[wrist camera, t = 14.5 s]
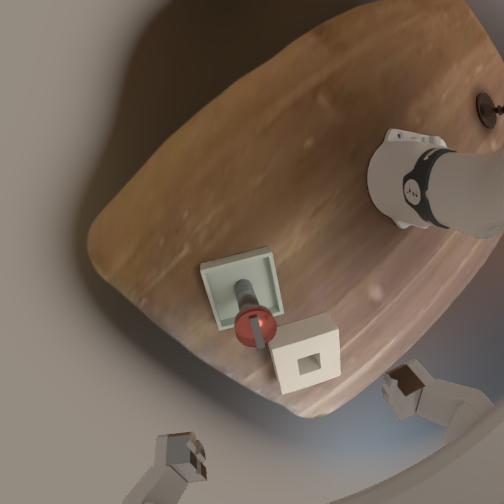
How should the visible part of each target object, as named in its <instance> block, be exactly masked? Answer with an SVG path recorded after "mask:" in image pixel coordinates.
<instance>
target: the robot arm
mask: <svg viewBox="0 0 504 504" xmlns="http://www.w3.org/2000/svg"><path fill="white" fill-rule="evenodd" d="M398 135H399V138H398ZM367 182H368V189H369V193H370V196H371V199H372V201H373V203H374V204H375V206H376V207H377V208H378V209H379V210H380V211H381V212H382V213H383V214H385V215H387V216H389V217H390V218H392V219H393V221H394V222H395V224H396V225H397V226H398V227H399V228H402V229H405V228H407V227H409V226H411V225H413V226H416V227H420V228H424V229H426V228H428V227H429V226H431V225H433V226H436V227H440V228H446V229H448V228H452V229H455V230H457V231H460V232H462V233H465V234H467V235H470V236H472V237H475V238H477V239H489V238H491V237H493V236H494V235H495V234H497V233H498V232H499V231H500V230H501V229H502V228H503V226H504V144H503V145H502V147H501V148H500V149H498V150H497V151H495V152H492V153H487V154H474V153H458V152H456V151H455V150H454V149H451V148H447V146H446V144H445V142H444V140H442V139H441V138H440V137H437V136H427V135H423V134H418V133H414V132H409V131H404V130H399V129H389V130H388V131H387V133H386V136H385V139H384V142H383V143H382V145H381V146H380V147H379V148H378V149H377V150H376V151H375V153H374V155H373V156H372V158H371V161H370V164H369V168H368V175H367ZM383 380H384V381H385V383H384V384H383V386H382V393H383V397H384V399H385V401H386V402H387V404H389V405H391V406H393V410H392V411H393V413H394V414H395V415H396V417H397V418H398V420H399V421H401V420H402V419H405V418H406V417H409V416H410V415H412V414H414V413H416V414H418V415H420V416H422V417H424V418H426V419H428V420H431V421H433V422H435V423H437V424H440V425H442V426H444V427H447V430H446V431H445V434H444V436H443V438H442V440H443V441H444V443H445V444H446V446H444V447H442V448H441V449H440V450H438V451H436V452H435V453H433V454H432V455H430V456H429V457H427V458H425V459H423V460H422V461H420V462H418V463H417V464H415V465H413V466H412V467H410V468H408V469H406V470H404V471H402V472H400V473H398V474H396V475H394V476H392V477H390V478H388V479H386V480H384V481H382V482H380V483H378V484H376V485H373V486H371V487H369V488H367V489H364V490H362V491H359V492H357V493H355V494H352V495H349V496H347V497H344V498H341V499H339V500H336V501H333V502H330V503H327V504H504V399H503V400H502V401H501V402H500V403H499V404H498V405H497V406H495V405H494V404H493V403H492V402H491V401H490V400H489V399H488V398H487V397H486V396H485V395H484V394H483V393H482V392H481V391H480V390H478V389H473V388H470V387H466V386H462V385H458V384H454V383H451V382H447V381H443V380H439V379H437V380H434V379H433V377H432V376H431V375H430V374H429V373H428V372H427V371H426V370H425V369H424V368H423V367H422V366H421V365H420V363H419V362H418V361H417V360H415V359H413V360H411V361H409V362H407V363H405V364H403V365H400V366H398V367H397V368H394V369H392V370H390V371H388V372H386V373H385V374H384V377H383ZM205 460H206V457H205V451H204V448H203V446H202V443H201V442H200V441H199V440H196V435H195V434H194V433H193V432H185V433H176V434H166V435H158V437H157V439H156V447H155V459H154V466H151V467H150V468H149V469H148V471H147V472H146V473H145V475H144V476H143V477H142V478H141V479H140V481H139V482H138V483H137V484H136V485H135V486H134V488H133V489H132V490H131V491H130V492H129V494H128V495H127V496H126V497H125V498H124V500H123V503H122V504H177V503H178V501H179V500H180V498H181V496H182V494H183V493H184V491H185V489H186V487H187V486H188V483H191V482H199V481H207V472H206V467H205V466H204V465H203V463H204V461H205Z"/></svg>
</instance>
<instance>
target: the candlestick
mask: <svg viewBox="0 0 504 504" xmlns="http://www.w3.org/2000/svg"><path fill="white" fill-rule="evenodd" d="M476 108H477V112H478V116H479V118H480V120H481V122H482V124H483V125H484V126H485V127H487V128H493V127H494V126H495V123H496V113H499V115H502V114H503V113H504V106H503V107H501V106H500V105H498V106H497V108H495V106H494V104H493V101H492V100H491V98H490V97H489V96H488V95H487V94H486V93H480V94H478V96H477V99H476Z"/></svg>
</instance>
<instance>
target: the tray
mask: <svg viewBox="0 0 504 504" xmlns="http://www.w3.org/2000/svg"><path fill="white" fill-rule="evenodd" d="M200 272H201V275H202V279H203V282H204V285H205V288H206V292H207V295H208V298H209V301H210V304H211V307H212V310H213V313H214V316H215V320H216V323H217V326H218V329H219V331H220V330H224V329H229V328H232V327H234V320H235V317H236V315H237V314H238V312H239V308H238V303H237V299H236V295H235V291H234V285H235V283H236V282H237V281H238V280H241V279H246V280H249V281H250V282H251V284H252V286H253V289H254V292H255V294H256V297H257V299H258V302H259V305H261V306H264V307H266V308H268V309H269V310H270V311H271V313H272V315H273V317H274V316H277V315H281V314H284V310H283V305H282V300H281V295H280V289H279V284H278V279H277V274H276V269H275V264H274V259H273V254H272V251H271V250H270V248H269V247H268V246H267V247H263V248H259V249H256V250H252V251H248V252H244V253H240V254H236V255H232V256H228V257H224V258H221V259H217V260H213V261H209V262H205V263H201V264H200Z"/></svg>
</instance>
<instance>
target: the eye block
mask: <svg viewBox="0 0 504 504" xmlns="http://www.w3.org/2000/svg"><path fill="white" fill-rule="evenodd" d="M268 346H269V350H270V354H271V358H272V362H273V366H274V371H275V375H276V378H277V381H278V383H279V386H280V389H281V392H282V395H283V394H286V393H290V392H293V391H296V390H299V389H303V388H306V387H309V386H312V385H315V384H318V383H321V382H324V381H326V380H329V379H332V378H335V377H338V376H340V375H341V373H340V346H339V329H338V327H337V326H336V325H335V323H334V322H333V321H332V319H331V318H330V317H329V316H328V314H327V313H326V312H325V313H322V314H319V315H315V316H312V317H309V318H306V319H302V320H299V321H296V322H292V323H289V324H286V325H282V326H279V327H277V332H276V334H275V336H274V338H273V339H272V340H271V341H270V342H269V343H268Z"/></svg>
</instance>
